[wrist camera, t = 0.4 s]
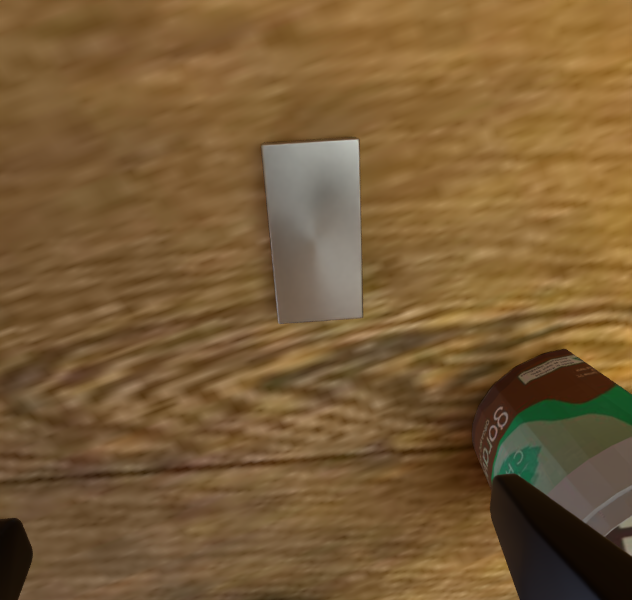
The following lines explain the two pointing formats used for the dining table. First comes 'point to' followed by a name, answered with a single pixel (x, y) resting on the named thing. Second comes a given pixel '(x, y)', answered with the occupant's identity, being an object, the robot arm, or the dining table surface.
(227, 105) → the dining table surface
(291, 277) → the silver flat block
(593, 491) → the food container
